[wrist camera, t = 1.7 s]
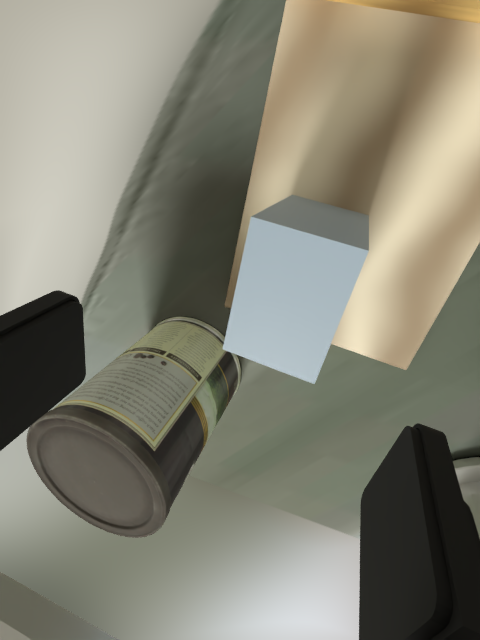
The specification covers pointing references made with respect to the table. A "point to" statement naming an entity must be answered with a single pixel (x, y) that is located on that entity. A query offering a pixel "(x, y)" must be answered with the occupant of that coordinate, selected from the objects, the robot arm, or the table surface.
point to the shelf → (379, 151)
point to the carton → (295, 284)
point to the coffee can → (137, 427)
